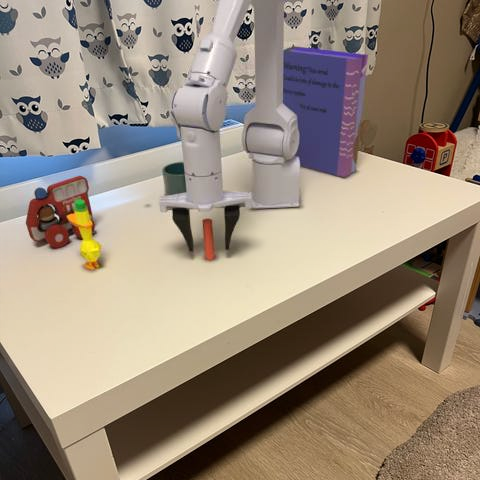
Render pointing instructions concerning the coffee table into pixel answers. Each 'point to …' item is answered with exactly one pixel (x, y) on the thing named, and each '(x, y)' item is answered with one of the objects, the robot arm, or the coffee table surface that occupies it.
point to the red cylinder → (208, 239)
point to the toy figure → (85, 234)
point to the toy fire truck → (57, 211)
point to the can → (174, 179)
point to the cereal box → (325, 106)
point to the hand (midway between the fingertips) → (209, 248)
